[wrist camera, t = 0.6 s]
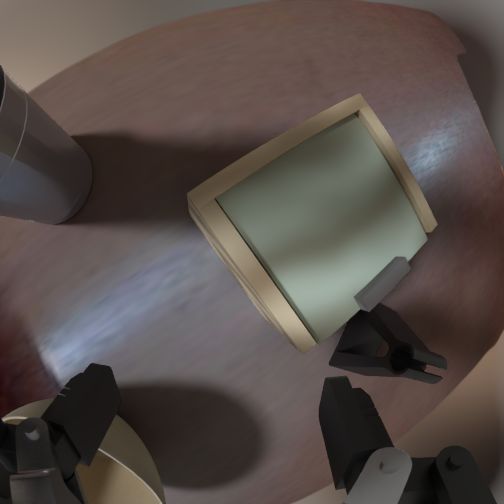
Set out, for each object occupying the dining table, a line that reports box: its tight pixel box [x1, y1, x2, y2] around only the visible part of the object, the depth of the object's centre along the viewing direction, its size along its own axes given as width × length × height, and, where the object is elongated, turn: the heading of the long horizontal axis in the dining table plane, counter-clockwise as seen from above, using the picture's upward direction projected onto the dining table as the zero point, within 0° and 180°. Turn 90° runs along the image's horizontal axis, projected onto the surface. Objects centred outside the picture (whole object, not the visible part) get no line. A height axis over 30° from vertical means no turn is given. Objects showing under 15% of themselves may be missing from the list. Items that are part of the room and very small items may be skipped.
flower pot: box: [2, 398, 166, 504], centre depth 19 cm, size 18×18×12 cm
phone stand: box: [329, 304, 447, 384], centre depth 26 cm, size 9×6×12 cm, turn 155°
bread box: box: [187, 93, 438, 354], centre depth 24 cm, size 14×16×12 cm
